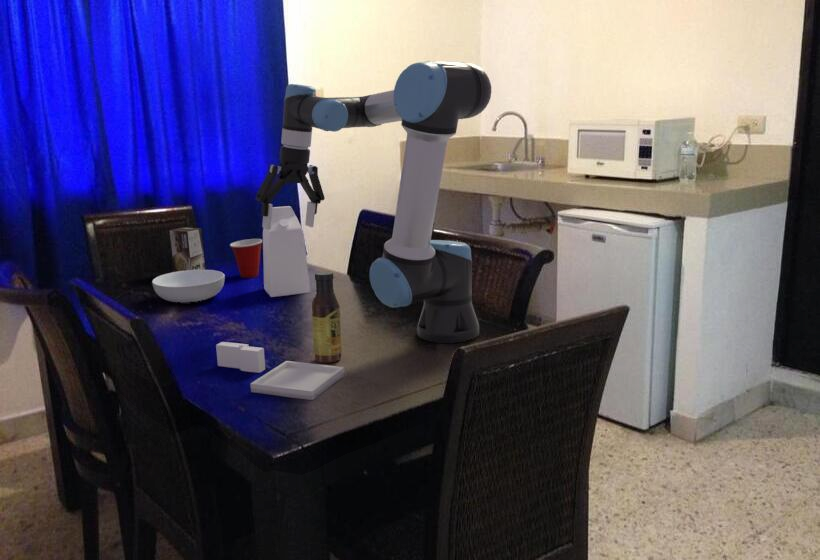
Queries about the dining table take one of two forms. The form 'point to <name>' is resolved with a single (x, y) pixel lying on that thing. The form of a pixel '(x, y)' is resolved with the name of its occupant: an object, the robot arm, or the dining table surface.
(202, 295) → the serving bowl
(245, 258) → the plastic cup
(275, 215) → the milk
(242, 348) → the white stepped block
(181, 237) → the coffee box
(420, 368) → the dining table surface
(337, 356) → the sauce bottle
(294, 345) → the dining table surface
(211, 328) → the dining table surface
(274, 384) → the tray
